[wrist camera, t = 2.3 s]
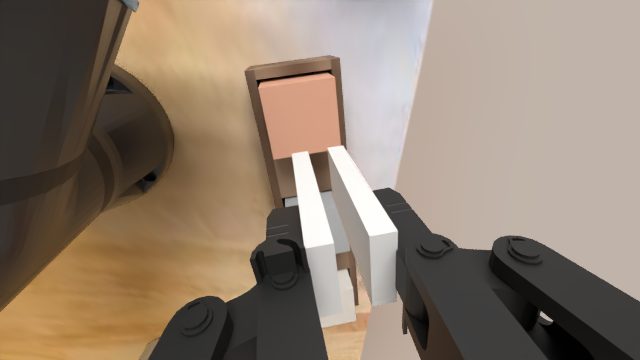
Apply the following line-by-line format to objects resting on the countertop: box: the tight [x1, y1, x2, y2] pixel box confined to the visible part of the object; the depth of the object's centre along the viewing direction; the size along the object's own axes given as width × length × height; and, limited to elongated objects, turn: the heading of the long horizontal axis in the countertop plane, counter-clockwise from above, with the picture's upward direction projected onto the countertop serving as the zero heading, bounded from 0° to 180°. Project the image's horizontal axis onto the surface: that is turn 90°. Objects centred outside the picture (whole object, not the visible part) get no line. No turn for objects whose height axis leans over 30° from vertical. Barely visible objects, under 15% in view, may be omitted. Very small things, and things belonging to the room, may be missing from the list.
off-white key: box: [320, 269, 356, 328], centre depth 36 cm, size 6×6×5 cm
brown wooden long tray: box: [244, 55, 359, 306], centre depth 33 cm, size 8×32×5 cm, turn 7°
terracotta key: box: [258, 71, 341, 160], centre depth 25 cm, size 6×6×5 cm
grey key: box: [285, 190, 350, 254], centre depth 30 cm, size 6×6×5 cm
